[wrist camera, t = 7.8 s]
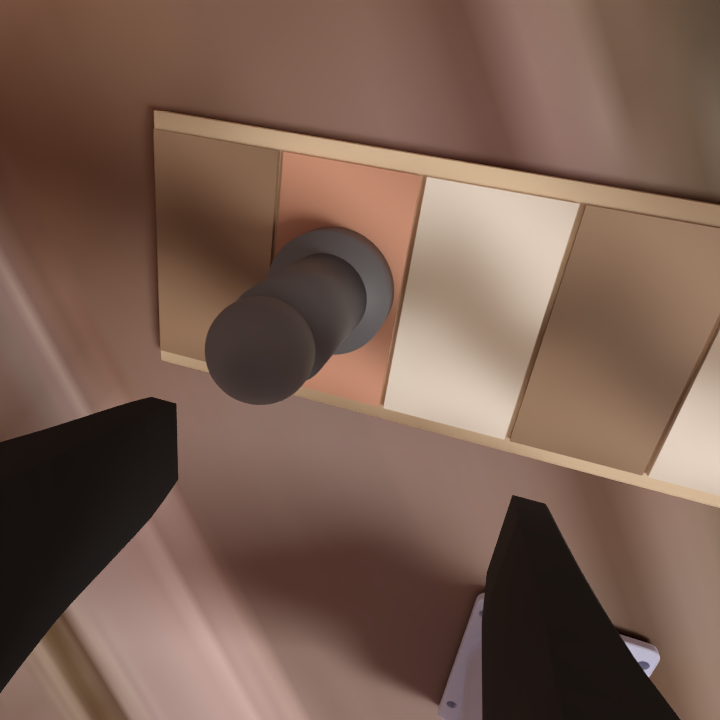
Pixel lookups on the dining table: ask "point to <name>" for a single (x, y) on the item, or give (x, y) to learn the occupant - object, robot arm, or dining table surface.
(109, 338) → the dining table surface
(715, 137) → the dining table surface
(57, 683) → the dining table surface
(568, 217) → the board
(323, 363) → the pawn
